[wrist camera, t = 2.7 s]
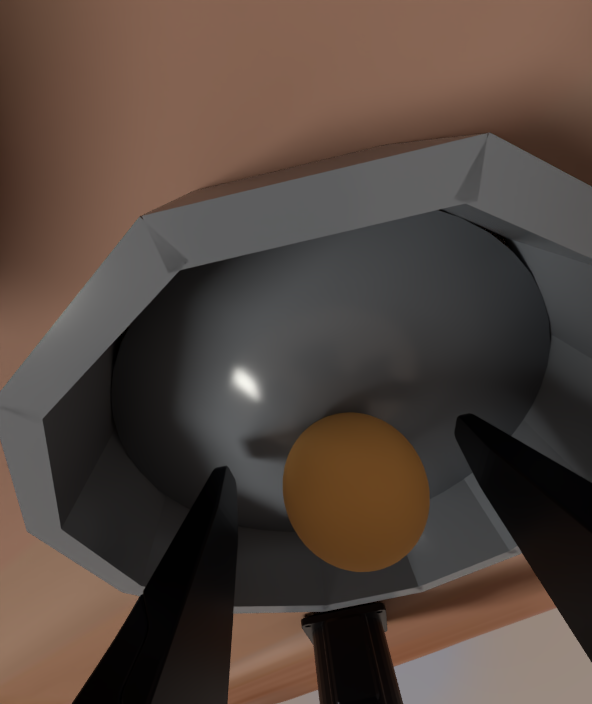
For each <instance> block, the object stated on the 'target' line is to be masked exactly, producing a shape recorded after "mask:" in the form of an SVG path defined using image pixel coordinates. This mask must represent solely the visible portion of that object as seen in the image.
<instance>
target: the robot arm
mask: <svg viewBox="0 0 592 704" xmlns="http://www.w3.org/2000/svg"><path fill="white" fill-rule="evenodd" d="M454 435H455V438H456V441H457V443H458V445H459V447H460V449H461V451H462V453H463V455H464V457H465V459H466V461H467V463H468V465H469V467H470V469H471V471H472V473H473V475H474V477H475V478H476V480H477V482H478V484H479V486H480V488H481V489H482V491H483V492H484V494H485V496H486V497H487V499H488V500H489V502H490V504H491V505H492V507H493V508H494V510H495V511H496V513H497V514H498V516H499V518H500V519H501V521H502V522H503V524H504V525H505V527H506V529H507V530H508V532H509V533H510V535H511V536H512V538H513V540H514V541H515V543H516V544H517V546H518V547H519V549H520V551H521V552H522V554H523V555H524V557H525V558H526V560H527V562H528V563H529V565H530V566H531V568H532V569H533V571H534V573H535V574H536V576H537V577H538V579H539V580H540V582H541V584H542V585H543V587H544V588H545V590H546V591H547V593H548V595H549V596H550V598H551V599H552V601H553V602H554V604H555V606H556V607H557V609H558V610H559V612H560V613H561V615H562V616H563V618H564V620H565V621H566V623H567V624H568V626H569V628H570V629H571V631H572V632H573V634H574V635H575V637H576V638H577V640H578V642H579V643H580V645H581V646H582V648H583V649H584V651H585V653H586V654H587V656H588V657H589V659H590V660H591V662H592V482H590V481H588V480H586V479H585V478H583V477H581V476H579V475H578V474H576V473H574V472H573V471H571V470H569V469H567V468H566V467H564V466H562V465H560V464H559V463H557V462H555V461H554V460H552V459H550V458H548V457H547V456H545V455H543V454H541V453H540V452H538V451H536V450H535V449H533V448H531V447H529V446H528V445H526V444H524V443H522V442H521V441H519V440H517V439H516V438H514V437H512V436H510V435H509V434H507V433H505V432H504V431H502V430H500V429H498V428H497V427H495V426H493V425H491V424H490V423H488V422H486V421H485V420H483V419H481V418H479V417H478V416H476V415H474V414H471V413H467V414H463V415H459V416H458V417H457V419H456V425H455V430H454ZM237 551H238V508H237V485H236V480H235V478H234V476H233V474H232V472H231V471H230V469H229V467H228V466H226V465H225V466H220V467H216V468H215V469H214V470H213V471H212V473H211V474H210V476H209V478H208V480H207V481H206V483H205V485H204V486H203V488H202V490H201V492H200V493H199V495H198V497H197V499H196V500H195V502H194V504H193V505H192V507H191V509H190V511H189V512H188V514H187V516H186V518H185V519H184V521H183V523H182V524H181V526H180V528H179V530H178V531H177V533H176V535H175V537H174V538H173V540H172V542H171V543H170V545H169V547H168V549H167V550H166V552H165V554H164V556H163V557H162V559H161V561H160V563H159V564H158V566H157V568H156V569H155V571H154V573H153V575H152V576H151V578H150V580H149V582H148V583H147V585H146V587H145V588H144V590H143V594H141V595H140V597H139V599H138V600H137V602H136V604H135V605H134V607H133V609H132V611H131V612H130V614H129V616H128V617H127V619H126V621H125V622H124V624H123V626H122V627H121V629H120V631H119V632H118V634H117V636H116V637H115V639H114V640H113V642H112V643H111V645H110V647H109V648H108V650H107V651H106V653H105V654H104V656H103V657H102V659H101V660H100V662H99V664H98V665H97V667H96V668H95V670H94V671H93V673H92V674H91V676H90V677H89V679H88V680H87V682H86V683H85V685H84V686H83V688H82V689H81V691H80V692H79V693H78V695H77V696H76V698H75V699H74V701H73V702H72V704H227V700H228V685H229V671H230V656H231V641H232V626H233V611H234V596H235V581H236V566H237ZM301 625H302V629H303V630H304V632H305V633H306V635H307V636H308V638H309V639H310V641H311V642H312V644H313V645H314V655H315V664H316V673H317V682H318V691H319V700H320V704H403V701H402V698H401V694H400V690H399V687H398V683H397V679H396V675H395V671H394V667H393V663H392V659H391V655H390V652H389V648H388V644H387V640H386V636H385V633H384V632H386V631H387V619H386V609H385V606H384V603H377V604H372V605H367V606H362V607H357V608H352V609H347V610H342V611H337V612H332V613H327V614H322V615H317V616H312V617H307V618H303V619H302V620H301Z"/></svg>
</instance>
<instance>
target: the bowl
mask: <svg viewBox="0 0 592 704" xmlns="http://www.w3.org/2000/svg"><path fill="white" fill-rule="evenodd" d="M438 210H440V211H438ZM442 211H443V212H442ZM475 225H476V226H475ZM477 226H479V227H481V228H483V229H486V230H488V231H490V232H493V233H495V234H498V235H500V236H502V237H505V238H506V240H507V243H508V245H509V248H510V249H509V248H508V247H506V246H505V245H504V244H503V243H502V242H500V241H499V240H498V239H497V238H495V237H494V236H493V235H492V234H490V233H489V232H487V231H485V230H483V229H481V228H479V227H477ZM130 324H131V325H130ZM129 325H130V327H129V329H128V330H127V332H126V334H125V336H124V338H123V340H122V342H121V345H120V334H121V333H122V332H123V331H124V330H125V329H126V328H127V327H128V326H129ZM347 412H354V413H362V414H367V415H371V416H373V417H376V418H378V419H381V420H383V421H385V422H386V423H388V424H390V425H391V426H393V427H394V428H395V429H397V430H398V431H399V432H400V433H401V434H402V435H403V436H404V437H405V438H406V439H407V440H408V441H409V442H410V444H411V445H412V446H413V447H414V449H415V451H416V452H417V454H418V456H419V457H420V459H421V462H422V464H423V466H424V469H425V472H426V476H427V479H428V484H429V491H430V507H429V514H428V519H427V522H426V525H425V528H424V531H423V533H422V535H421V537H420V539H419V540H418V542H417V543H416V545H415V546H414V547H413V549H412V550H411V551H410V552H409V553H408V554H407V555H406V556H405V557H403V558H402V559H401V560H400V561H398V562H397V563H395V564H393V565H391V566H389V567H386V568H384V569H381V570H377V571H371V572H353V571H348V570H344V569H340V568H338V567H335V566H333V565H331V564H329V563H327V562H325V561H324V560H322V559H321V558H319V557H318V556H316V555H315V554H314V553H313V552H312V551H311V550H310V549H308V547H307V546H306V545H305V544H304V543H303V542H302V540H301V539H300V538H299V536H298V535H297V533H296V531H295V530H294V528H293V526H292V524H291V522H290V520H289V517H288V515H287V511H286V508H285V504H284V498H283V474H284V467H285V464H286V460H287V457H288V455H289V452H290V450H291V448H292V446H293V445H294V443H295V442H296V440H297V439H298V438H299V436H300V435H301V434H302V433H303V432H304V431H305V430H306V429H307V428H308V427H310V426H311V425H312V424H313V423H315V422H317V421H318V420H320V419H322V418H325V417H327V416H330V415H334V414H338V413H347ZM467 413H471V414H474V415H476V416H478V417H479V418H481V419H483V420H485V421H486V422H488V423H490V424H491V425H493V426H495V427H497V428H498V429H500V430H502V431H504V432H505V433H507V434H509V435H510V436H512V437H514V438H516V439H517V440H519V441H521V442H522V443H524V444H526V445H528V446H529V447H531V448H533V449H535V450H536V451H538V452H540V453H541V454H543V455H545V456H547V457H548V458H550V459H552V460H554V461H555V462H557V463H559V464H560V465H562V466H564V467H566V468H567V469H569V470H571V471H573V472H574V473H576V474H578V475H579V476H581V477H583V478H585V479H586V480H588V481H590V482H592V186H590V185H588V184H586V183H584V182H582V181H580V180H578V179H576V178H575V177H573V176H571V175H569V174H567V173H565V172H563V171H561V170H560V169H558V168H556V167H554V166H552V165H550V164H548V163H546V162H545V161H543V160H541V159H539V158H537V157H535V156H533V155H531V154H529V153H528V152H526V151H524V150H522V149H520V148H518V147H516V146H514V145H513V144H511V143H509V142H507V141H505V140H503V139H501V138H499V137H498V136H496V135H494V134H492V133H483V134H474V135H465V136H457V137H448V138H440V139H431V140H422V141H414V142H405V143H397V144H388V145H383V146H378V147H374V148H370V149H366V150H362V151H358V152H353V153H349V154H345V155H341V156H337V157H333V158H329V159H324V160H320V161H316V162H312V163H308V164H304V165H299V166H295V167H291V168H287V169H283V170H279V171H275V172H270V173H266V174H262V175H258V176H254V177H250V178H245V179H241V180H237V181H233V182H229V183H225V184H220V185H216V186H212V187H208V188H204V189H200V190H196V191H193V192H190V193H188V194H186V195H184V196H182V197H180V198H178V199H176V200H174V201H171V202H169V203H167V204H165V205H163V206H161V207H159V208H157V209H155V210H152V211H150V212H148V213H146V214H144V215H142V216H140V217H139V218H138V219H137V220H136V222H135V223H134V224H133V225H132V227H131V228H130V229H129V230H128V232H127V233H126V234H125V235H124V237H123V238H122V239H121V240H120V242H119V243H118V244H117V245H116V247H115V248H114V249H113V250H112V252H111V253H110V254H109V255H108V257H107V258H106V259H105V261H104V262H103V263H102V264H101V266H100V267H99V268H98V269H97V271H96V272H95V273H94V274H93V276H92V277H91V278H90V279H89V281H88V282H87V283H86V284H85V286H84V287H83V288H82V289H81V291H80V292H79V293H78V294H77V296H76V297H75V298H74V299H73V301H72V302H71V303H70V304H69V306H68V307H67V308H66V310H65V311H64V312H63V313H62V315H61V316H60V317H59V318H58V320H57V321H56V322H55V323H54V325H53V326H52V327H51V328H50V330H49V331H48V332H47V333H46V335H45V336H44V337H43V338H42V340H41V341H40V342H39V343H38V345H37V346H36V347H35V348H34V350H33V351H32V352H31V353H30V355H29V356H28V357H27V359H26V360H25V361H24V362H23V364H22V365H21V366H20V367H19V369H18V370H17V371H16V372H15V374H14V375H13V376H12V377H11V379H10V380H9V381H8V382H7V384H6V385H5V386H4V387H3V389H2V390H1V391H0V440H1V444H2V447H3V450H4V454H5V457H6V461H7V464H8V468H9V471H10V475H11V478H12V481H13V485H14V488H15V492H16V495H17V499H18V502H19V506H20V509H21V512H22V516H23V519H24V523H25V526H26V530H27V531H28V532H29V533H30V534H32V535H33V536H35V537H36V538H38V539H39V540H41V541H43V542H44V543H46V544H47V545H49V546H50V547H52V548H54V549H55V550H57V551H58V552H60V553H61V554H63V555H65V556H66V557H68V558H69V559H71V560H72V561H74V562H76V563H77V564H79V565H80V566H82V567H83V568H85V569H86V570H88V571H90V572H91V573H93V574H94V575H96V576H97V577H99V578H101V579H102V580H104V581H105V582H107V583H108V584H110V585H112V586H113V587H115V588H116V589H118V590H119V591H121V592H123V593H128V594H132V595H137V596H140V595H141V594H143V590H144V588H145V587H146V585H147V583H148V582H149V580H150V578H151V576H152V575H153V573H154V571H155V569H156V568H157V566H158V564H159V563H160V561H161V559H162V557H163V556H164V554H165V552H166V550H167V549H168V547H169V545H170V543H171V542H172V540H173V538H174V537H175V535H176V533H177V531H178V530H179V528H180V526H181V524H182V523H183V521H184V519H185V518H186V516H187V514H188V512H189V511H190V509H191V507H192V505H193V504H194V502H195V500H196V499H197V497H198V495H199V493H200V492H201V490H202V488H203V486H204V485H205V483H206V481H207V480H208V478H209V476H210V474H211V473H212V471H213V470H214V469H215V468H216V467H220V466H225V465H226V466H228V467H229V469H230V471H231V472H232V474H233V476H234V478H235V480H236V485H237V508H238V551H237V566H236V581H235V596H234V611H233V613H280V612H324V611H330V610H335V609H340V608H345V607H350V606H355V605H360V604H365V603H370V602H375V601H380V600H385V599H390V598H395V597H400V596H405V595H410V594H415V593H420V592H424V591H426V590H429V589H431V588H434V587H437V586H439V585H442V584H444V583H447V582H449V581H452V580H455V579H457V578H460V577H462V576H465V575H468V574H470V573H473V572H475V571H478V570H480V569H483V568H486V567H488V566H491V565H493V564H496V563H499V562H501V561H504V560H506V559H509V558H511V557H514V556H517V555H519V554H521V553H522V552H521V551H520V549H519V547H518V546H517V544H516V543H515V541H514V540H513V538H512V536H511V535H510V533H509V532H508V530H507V529H506V527H505V525H504V524H503V522H502V521H501V519H500V518H499V516H498V514H497V513H496V511H495V510H494V508H493V507H492V505H491V504H490V502H489V500H488V499H487V497H486V496H485V494H484V492H483V491H482V489H481V488H480V486H479V484H478V482H477V480H476V478H475V477H474V475H473V473H472V471H471V469H470V467H469V465H468V463H467V461H466V459H465V457H464V455H463V453H462V451H461V449H460V447H459V445H458V443H457V441H456V438H455V435H454V430H455V425H456V419H457V417H458V416H459V415H463V414H467Z"/></svg>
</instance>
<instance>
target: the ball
mask: <svg viewBox="0 0 592 704" xmlns="http://www.w3.org/2000/svg"><path fill="white" fill-rule="evenodd" d="M283 498H284V504H285V508H286V511H287V515H288V517H289V520H290V522H291V524H292V526H293V528H294V530H295V531H296V533H297V535H298V536H299V538H300V539H301V540H302V542H303V543H304V544H305V545H306V546H307V547H308V549H310V550H311V551H312V552H313V553H314V554H315V555H316V556H318V557H319V558H321V559H322V560H324V561H325V562H327V563H329V564H331V565H333V566H335V567H338V568H340V569H344V570H348V571H353V572H371V571H377V570H381V569H384V568H386V567H389V566H391V565H393V564H395V563H397V562H398V561H400V560H401V559H402V558H403V557H405V556H406V555H407V554H408V553H409V552H410V551H411V550H412V549H413V547H414V546H415V545H416V543H417V542H418V540H419V539H420V537H421V535H422V533H423V531H424V528H425V525H426V522H427V519H428V514H429V507H430V491H429V484H428V479H427V476H426V472H425V469H424V466H423V464H422V462H421V459H420V457H419V456H418V454H417V452H416V451H415V449H414V447H413V446H412V445H411V444H410V442H409V441H408V440H407V439H406V438H405V437H404V436H403V435H402V434H401V433H400V432H399V431H398V430H397V429H395V428H394V427H393V426H391V425H390V424H388V423H386V422H385V421H383V420H381V419H378V418H376V417H373V416H371V415H367V414H362V413H354V412H347V413H338V414H334V415H330V416H327V417H325V418H322V419H320V420H318V421H317V422H315V423H313V424H312V425H311V426H310V427H308V428H307V429H306V430H305V431H304V432H303V433H302V434H301V435H300V436H299V438H298V439H297V440H296V442H295V443H294V445H293V446H292V448H291V450H290V452H289V455H288V457H287V460H286V464H285V467H284V474H283Z"/></svg>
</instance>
